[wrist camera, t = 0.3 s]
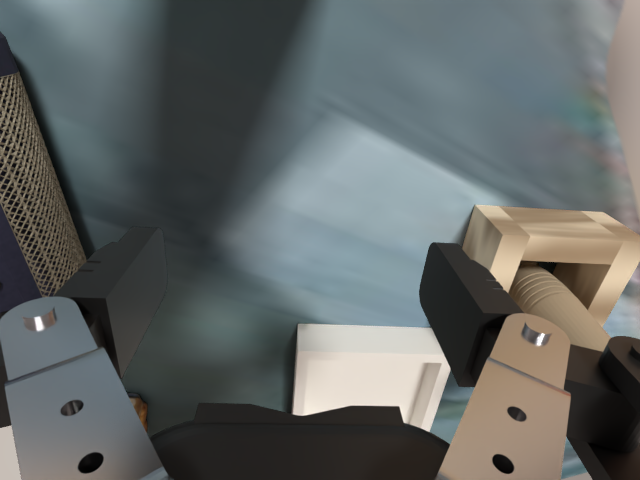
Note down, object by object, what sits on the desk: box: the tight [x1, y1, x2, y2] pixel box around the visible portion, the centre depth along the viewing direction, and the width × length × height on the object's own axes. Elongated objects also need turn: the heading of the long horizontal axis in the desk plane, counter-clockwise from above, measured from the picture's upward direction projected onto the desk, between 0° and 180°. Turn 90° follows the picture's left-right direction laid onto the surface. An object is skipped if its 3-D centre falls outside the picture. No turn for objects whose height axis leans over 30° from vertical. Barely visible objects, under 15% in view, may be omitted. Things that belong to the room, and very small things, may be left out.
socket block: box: [462, 205, 640, 327], centre depth 33 cm, size 12×11×5 cm
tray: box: [291, 324, 451, 432], centre depth 39 cm, size 14×14×4 cm
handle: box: [508, 260, 611, 352], centre depth 29 cm, size 5×6×15 cm
